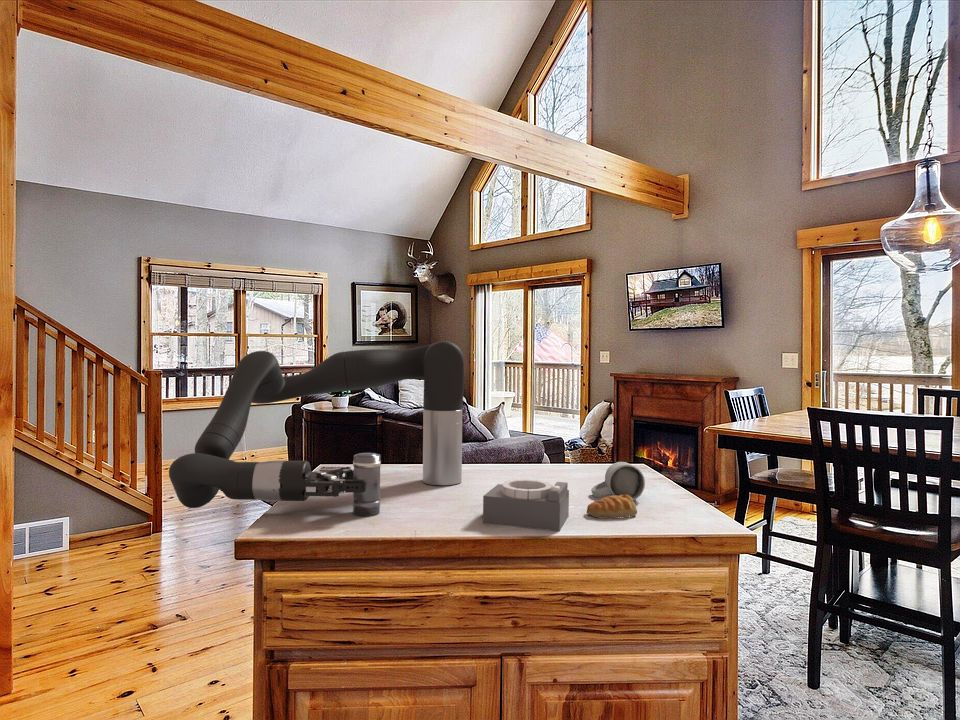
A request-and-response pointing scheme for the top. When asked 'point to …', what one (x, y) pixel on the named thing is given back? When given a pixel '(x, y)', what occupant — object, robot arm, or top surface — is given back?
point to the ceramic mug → (621, 481)
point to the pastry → (613, 507)
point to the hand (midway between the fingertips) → (368, 480)
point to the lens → (367, 484)
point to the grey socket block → (527, 504)
